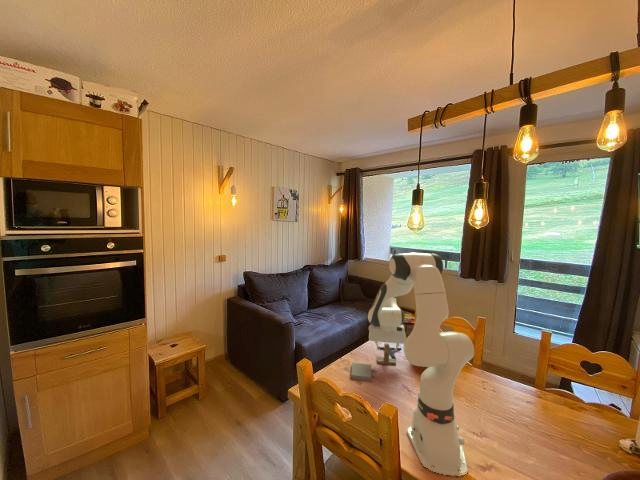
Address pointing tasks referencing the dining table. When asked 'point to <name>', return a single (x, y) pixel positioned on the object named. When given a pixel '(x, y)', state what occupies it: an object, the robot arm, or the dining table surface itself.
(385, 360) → the inverted t stand
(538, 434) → the dining table surface
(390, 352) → the bracket
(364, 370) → the tile
